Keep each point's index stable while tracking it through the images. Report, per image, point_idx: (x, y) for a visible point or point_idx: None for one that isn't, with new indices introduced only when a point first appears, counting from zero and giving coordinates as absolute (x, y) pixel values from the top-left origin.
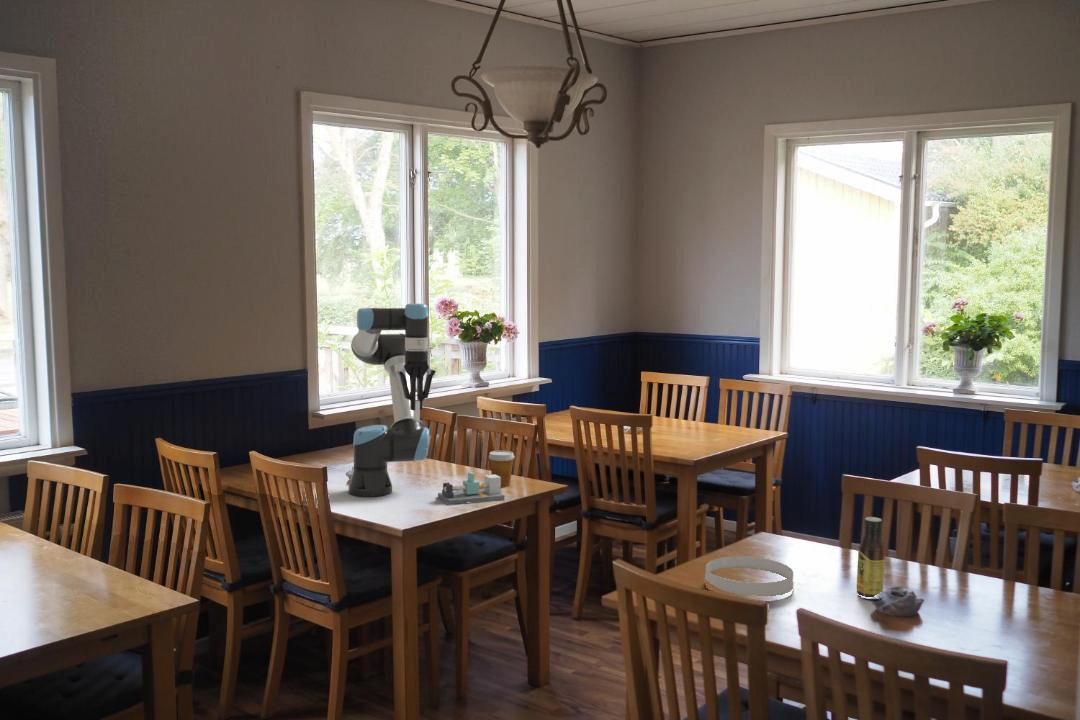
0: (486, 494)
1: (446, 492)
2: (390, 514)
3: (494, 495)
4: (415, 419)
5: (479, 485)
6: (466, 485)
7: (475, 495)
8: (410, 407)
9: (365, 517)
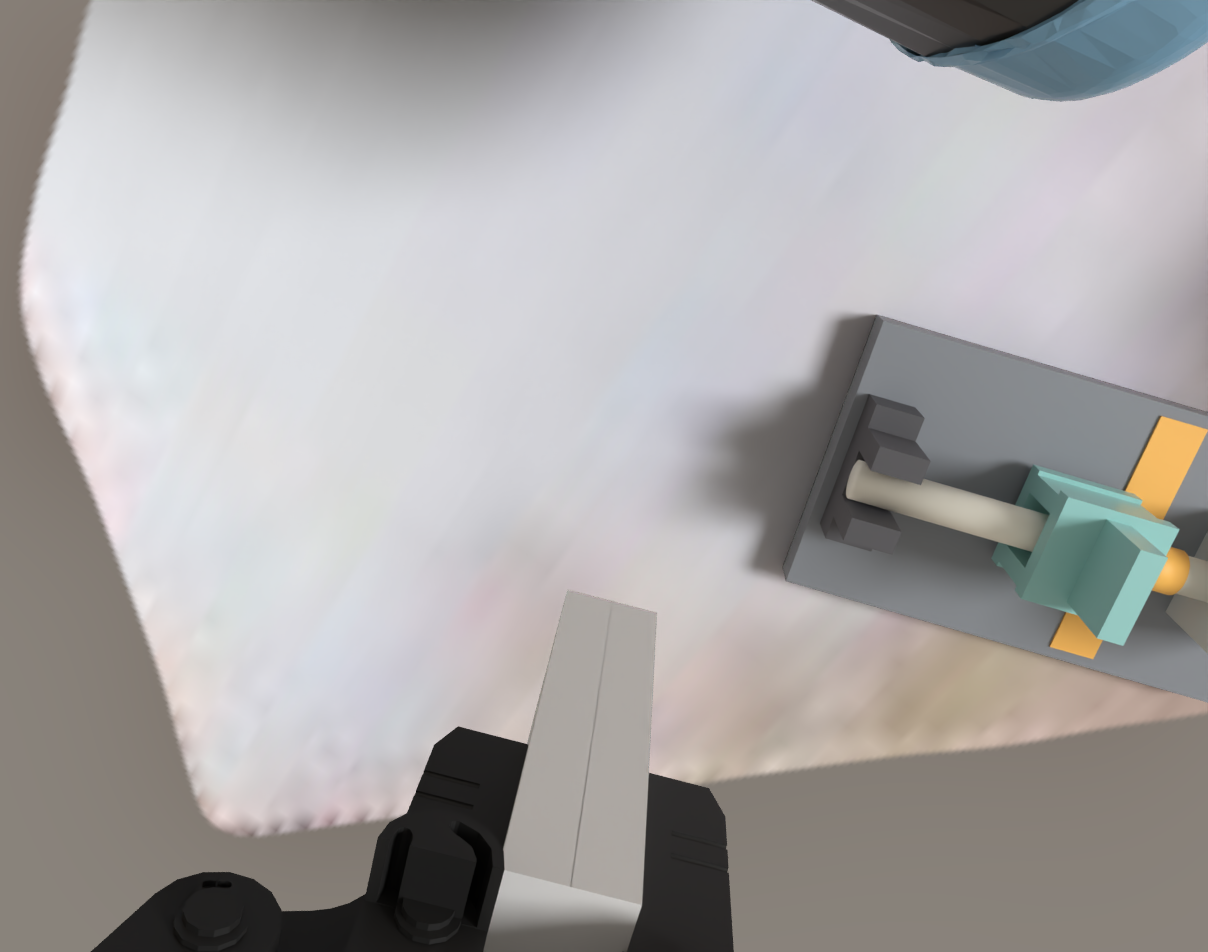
0: None
1: (837, 507)
2: (304, 523)
3: (1156, 663)
4: (529, 734)
5: None
6: (1021, 570)
7: None
8: (428, 767)
9: (127, 486)
